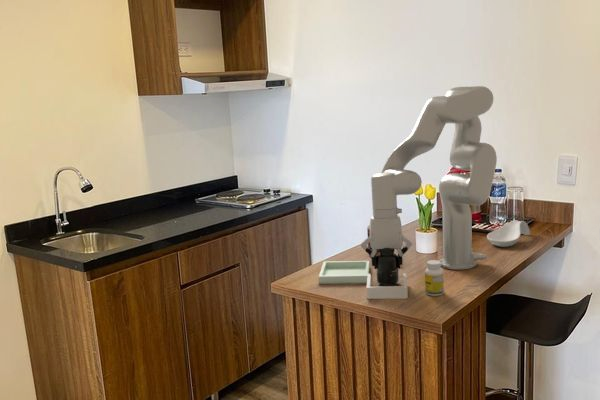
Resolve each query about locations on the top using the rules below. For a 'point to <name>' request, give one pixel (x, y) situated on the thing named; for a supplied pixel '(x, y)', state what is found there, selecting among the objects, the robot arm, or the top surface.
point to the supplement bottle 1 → (387, 267)
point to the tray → (344, 272)
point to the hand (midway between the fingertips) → (387, 267)
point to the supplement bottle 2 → (434, 278)
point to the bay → (387, 290)
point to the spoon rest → (508, 233)
